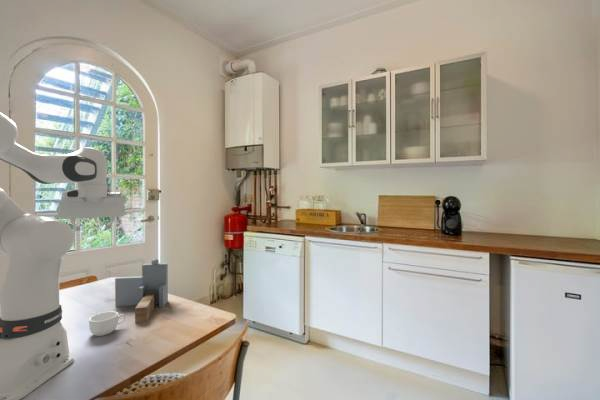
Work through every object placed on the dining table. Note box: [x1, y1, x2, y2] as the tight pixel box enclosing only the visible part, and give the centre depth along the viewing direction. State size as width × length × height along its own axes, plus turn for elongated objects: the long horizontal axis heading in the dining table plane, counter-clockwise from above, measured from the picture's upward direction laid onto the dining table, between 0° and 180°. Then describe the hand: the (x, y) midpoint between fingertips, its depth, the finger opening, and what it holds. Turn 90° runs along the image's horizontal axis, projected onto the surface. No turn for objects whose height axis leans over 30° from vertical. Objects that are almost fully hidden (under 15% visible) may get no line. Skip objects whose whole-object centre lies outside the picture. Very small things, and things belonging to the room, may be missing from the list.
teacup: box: [88, 310, 126, 337], centre depth 92 cm, size 10×8×5 cm
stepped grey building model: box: [114, 258, 169, 308], centre depth 113 cm, size 6×19×18 cm, turn 99°
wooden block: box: [134, 290, 157, 324], centre depth 106 cm, size 16×4×6 cm, turn 16°
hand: (93, 230), depth 105 cm, fingers open, 8 cm apart
